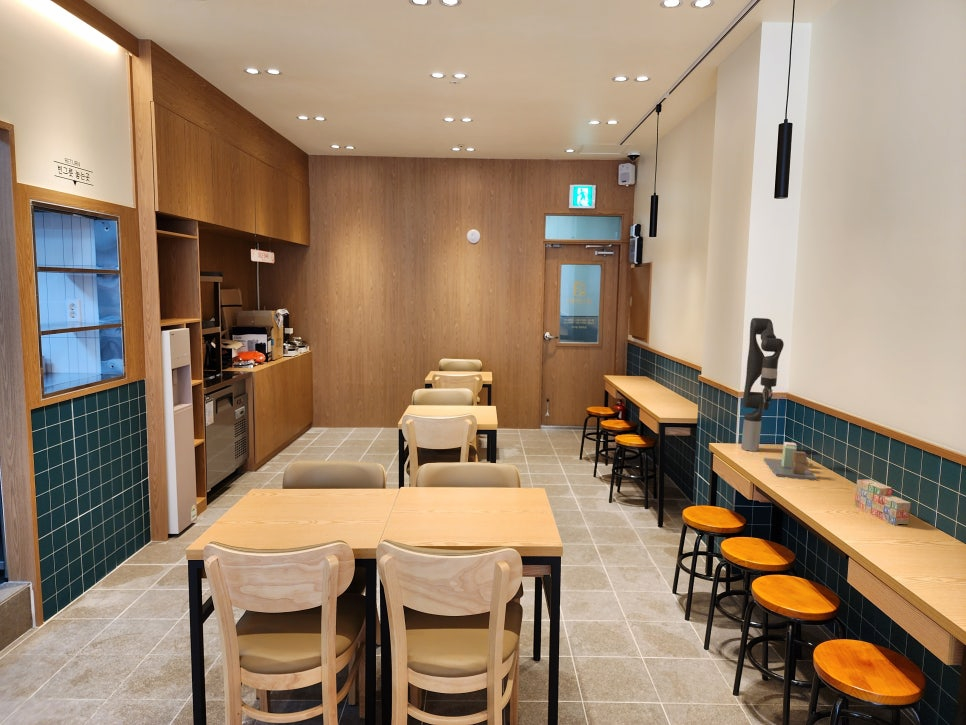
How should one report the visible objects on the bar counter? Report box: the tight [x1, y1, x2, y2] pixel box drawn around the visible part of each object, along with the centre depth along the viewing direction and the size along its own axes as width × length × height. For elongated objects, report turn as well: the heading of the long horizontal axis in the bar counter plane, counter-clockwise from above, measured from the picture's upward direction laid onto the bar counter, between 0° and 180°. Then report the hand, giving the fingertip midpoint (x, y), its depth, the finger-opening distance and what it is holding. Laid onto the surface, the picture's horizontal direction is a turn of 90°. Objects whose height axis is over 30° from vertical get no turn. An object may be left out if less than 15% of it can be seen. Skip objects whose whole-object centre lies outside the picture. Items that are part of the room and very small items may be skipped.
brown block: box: [791, 450, 808, 474], centre depth 315 cm, size 5×5×10 cm
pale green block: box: [781, 445, 797, 468], centre depth 326 cm, size 5×5×10 cm
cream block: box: [783, 441, 798, 449], centre depth 335 cm, size 5×5×10 cm
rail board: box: [763, 457, 817, 481], centre depth 326 cm, size 31×18×2 cm, turn 167°
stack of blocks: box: [854, 479, 911, 526], centre depth 262 cm, size 21×6×12 cm, turn 11°
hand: (765, 409), depth 333 cm, fingers closed
